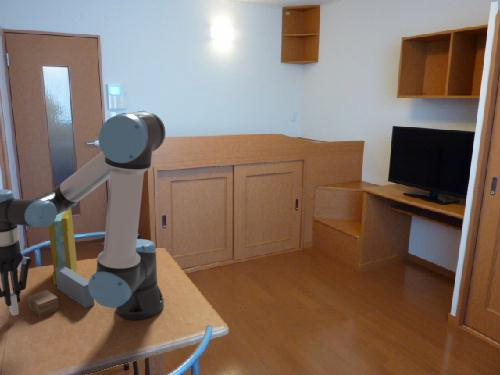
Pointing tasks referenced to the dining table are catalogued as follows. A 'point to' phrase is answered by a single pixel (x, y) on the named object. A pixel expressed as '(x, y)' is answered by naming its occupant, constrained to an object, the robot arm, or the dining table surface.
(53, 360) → the dining table surface
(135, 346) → the dining table surface
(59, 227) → the yellow rounded trough
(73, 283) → the slate board
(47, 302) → the brown rectangular block
